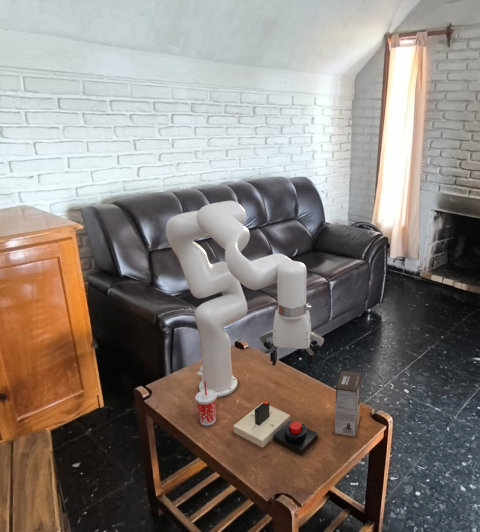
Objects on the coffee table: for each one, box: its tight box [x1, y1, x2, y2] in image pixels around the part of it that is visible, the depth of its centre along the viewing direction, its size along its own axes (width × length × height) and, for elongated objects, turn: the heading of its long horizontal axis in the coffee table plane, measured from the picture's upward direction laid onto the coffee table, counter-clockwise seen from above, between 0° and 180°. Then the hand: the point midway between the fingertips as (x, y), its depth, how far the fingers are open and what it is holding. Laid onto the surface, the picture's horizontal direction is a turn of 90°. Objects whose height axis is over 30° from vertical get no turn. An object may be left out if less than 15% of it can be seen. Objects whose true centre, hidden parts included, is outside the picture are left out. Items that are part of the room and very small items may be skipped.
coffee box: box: [334, 370, 363, 437], centre depth 130 cm, size 9×6×16 cm
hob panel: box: [232, 401, 291, 448], centre depth 130 cm, size 11×13×3 cm
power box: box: [272, 419, 319, 457], centre depth 125 cm, size 10×8×4 cm
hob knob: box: [254, 400, 270, 425], centre depth 129 cm, size 5×2×5 cm, turn 148°
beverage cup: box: [195, 381, 218, 427], centre depth 130 cm, size 6×6×14 cm
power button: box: [290, 421, 302, 434], centre depth 124 cm, size 3×3×2 cm
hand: (292, 364), depth 121 cm, fingers open, 9 cm apart
